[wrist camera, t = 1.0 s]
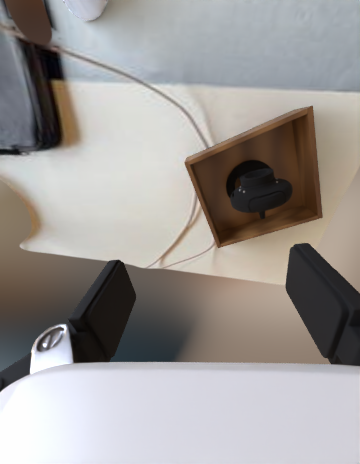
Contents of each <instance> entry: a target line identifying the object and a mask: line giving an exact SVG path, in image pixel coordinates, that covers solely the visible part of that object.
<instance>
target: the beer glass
mask: <svg viewBox="0 0 360 464" xmlns="http://www.w3.org/2000/svg"><path fill="white" fill-rule="evenodd" d="M62 1H63V2H64V3H65V5H66V6H67V8H68V9H69V10H70V11H71V12H72V13H73V14H74V15H75V16H76V17H78V18H80V19H82V20H85V21H92V20H95V19H97V18H98V17H99V16H100V15H101V14H102V13H103V11H104V9H105V7H106V4H107V0H62Z"/></svg>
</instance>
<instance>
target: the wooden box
mask: <svg viewBox="0 0 360 464" xmlns="http://www.w3.org/2000/svg"><path fill="white" fill-rule="evenodd" d="M249 160H259V161H262V162H264V163H266V164H267V165H268V166H269V167H270V168H271V169H273V171H274V177H275V178H280V179H285V180H287V181H289V182H290V183H291V185H292V187H293V192H292V196H291V198H290V199H289V201H288V202H286V203H285V204H283V205H282V206H279V207H276V208H274V209H271V210H268V211H265V219H260V215H259V212H256V213H243V212H240V211H237V210H235V209H234V208H233V207H232V205H231V202H230V198H229V196H228V194H227V191H226V182H227V178H228V176H229V174H230V173H231V172H232V170H233V169H234V168H235V167H236V166H237V165H239V164H240V163H243V162H245V161H249ZM185 166H186V168H187V171H188V173H189V176H190V178H191V181H192V183H193V186H194V188H195V191H196V193H197V196H198V199H199V201H200V204H201V206H202V209H203V211H204V214H205V216H206V219H207V221H208V224H209V226H210V229H211V231H212V234H213V237H214V239H215V242H216V244H217V247H218V248H220V247H223V246H227V245H230V244H234V243H237V242H240V241H244V240H247V239H251V238H254V237H257V236H261V235H264V234H268V233H271V232H275V231H278V230H281V229H285V228H288V227H292V226H295V225H298V224H302V223H305V222H309V221H312V220H316V219H319V218H322V206H321V194H320V183H319V172H318V160H317V149H316V138H315V127H314V115H313V106H309V107H305V108H300V109H296V110H293V111H290V112H288V113H286V114H284V115H281V116H279V117H277V118H275V119H273V120H270V121H268V122H266V123H264V124H261V125H259V126H257V127H255V128H252V129H250V130H248V131H246V132H244V133H241V134H239V135H237V136H235V137H232V138H230V139H228V140H226V141H224V142H221V143H219V144H217V145H215V146H212V147H210V148H208V149H206V150H204V151H201V152H199V153H197V154H195V155H192V156H190V157H188V158H186V161H185ZM240 186H241V182H240V179H239V178H237V180H236V182H235V190H236V189H237V188H238V187H240Z"/></svg>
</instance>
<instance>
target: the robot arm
mask: <svg viewBox="0 0 360 464" xmlns="http://www.w3.org/2000/svg"><path fill="white" fill-rule="evenodd" d="M286 291H287V293H288V295H289V297H290V299H291V300H292V302H293V304H294V306H295V308H296V309H297V311H298V313H299V315H300V317H301V318H302V320H303V322H304V324H305V326H306V327H307V329H308V331H309V333H310V334H311V336H312V338H313V340H314V342H315V344H316V345H317V347H318V349H319V351H320V353H321V354H322V356H323V357H324V358H328V359H329V362H330V363H331V365H330V364H329V365H328V364H295V363H294V364H291V363H206V362H205V363H204V362H199V363H197V362H195V363H194V362H110V359H111V357H113V356H114V355H115V352H116V350H117V347H118V344H119V342H120V339H121V337H122V334H123V332H124V329H125V326H126V324H127V321H128V318H129V315H130V313H131V311H132V308H133V305H134V302H135V300H136V294H135V291H134V288H133V286H132V283H131V281H130V278H129V275H128V273H127V270H126V268H125V265H124V263H123V262H121V261H120V260H111V261H109V262H108V263H107V265H106V266H105V267H104V269H103V270H102V272H101V273H100V275H99V276H98V277H97V279H96V280H95V282H94V283H93V284H92V286H91V287H90V289H89V290H88V291H87V293H86V294H85V296H84V297H83V299H82V300H81V301H80V303H79V304H78V306H77V307H76V309H75V310H74V312H73V313H72V314H71V316H70V317H69V318H68V320H69V322H68V324H67V325H65V324H58V325H55V326H52V327H51V328H49V329H47V330H46V331H45V332H43V333H42V334H41V335H40V336H39V337H38V338H37V340H36V341H35V343H34V345H33V348H32V352H31V353H30V354H28V355H26V356H25V357H23V358H22V359H20V360H19V361H17V362H15V363H14V364H12V365H11V366H9V367H8V368H6V369H4V370H3V371H2V372H0V464H360V293H359V292H358V291H356V289H355V288H353V286H352V285H350V283H348V281H346V280H345V278H343V277H342V276H341V275H340V274H339V273H338V272H337V271H336V270H335V269H334V268H332V266H331V265H330V264H329V263H328V262H327V261H326V260H325V259H323V257H321V255H320V254H319V253H318V252H317V251H316V250H315V249H314V248H313V247H312V246H311V245H310V244H308V243H302V244H295V245H294V247H291V248H290V254H289V262H288V270H287V278H286Z"/></svg>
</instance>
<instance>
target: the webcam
mask: <svg viewBox="0 0 360 464" xmlns="http://www.w3.org/2000/svg"><path fill="white" fill-rule="evenodd" d="M237 178H239V179H240V182H241V186H240V187H238V188H237V189H236V190H235V182H236V180H237ZM226 191H227V194H228V196H229V198H230V202H231V205H232V207H233V208H234V209H235V210H237V211H240V212H243V213H256V212H259V215H260V219H265V211H268V210H271V209H274V208H276V207H279V206H282V205H283V204H285V203H286V202H288V201H289V199H290V198H291V196H292V192H293V187H292V185H291V183H290V182H289V181H287V180H285V179H280V178H275V177H274V171H273V169H271V168H270V167H269V166H268V165H267V164H266V163H264V162H262V161H259V160H249V161H245V162H243V163H240V164H239V165H237V166H236V167H235V168H234V169H233V170H232V172H231V173H230V174H229V176H228V178H227V182H226Z"/></svg>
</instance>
